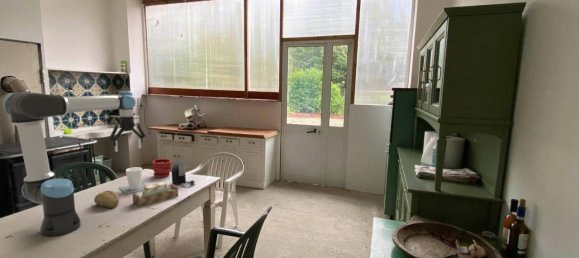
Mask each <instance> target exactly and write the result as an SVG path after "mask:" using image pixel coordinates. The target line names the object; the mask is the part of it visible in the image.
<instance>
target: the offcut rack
mask: <svg viewBox="0 0 579 258" xmlns="http://www.w3.org/2000/svg"><path fill="white" fill-rule="evenodd" d="M169 190H170V191H166V192H162V193H158V194H154V195H150V196H146V197H142V198H141V195H139V194H137V193H136V192H135V193H131V194H132V204H133V205H134V206H136V207H137V208H139V207H143V206H147V205H150V204H154V203H157V202H161V201H164V200H169V199H171V198H177V197H179V187H178V186H177V185H176V184H173V183H171V184H170V189H169Z"/></svg>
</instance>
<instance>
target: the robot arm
mask: <svg viewBox="0 0 579 258" xmlns="http://www.w3.org/2000/svg"><path fill="white" fill-rule="evenodd" d="M136 104H137V103H136V99H135V97H134V95H133V92H132V91H131V90H119V91H118V93H117V94H114V93H113V94H112V93H110V94H109V93H107V94H105V93H104V94H102V93H101V94H99V95H89V96H88V95H87V96H85V95H84V96H82V95H81V96H80V95H79V96H63V95H62V94H47V93H40V92H31V91H30V92H27V91H18V92H14V93H13V92H12V93H10V94H9V95H8V96H7V97H6V98H4V101H3V105H2V106H3V109H4V111H5V112H6V113H7V114H8V115H9V117H10V122H11V124H13V125H15V126H16V129H17V133H18V138H19V143H20V148H21V153H22V157H23V161H24V167H25V171H26V176H25V177H24V178H23V185H22V187H21V194H22V196H23V197H24V198H25V199H26V200H28V201H29V202H32V203H34V204H38V205H40V206H42V211H43V218H42V222H41V225H40V229H39V231H40V232H39V233H40V235H41V236H43V237H57V236H62V235H65V234H69V233H71V232H74V231H76V230H77V229H79V228H80V227H81V226H82V225H81V224H82V221H81V219H80V217H79V215H78V213H77V211H76V207H75V206H76V205H75V194H74V193H75V191H74V189H75V188H74V185H73V182H72V180H70V179H69V178H56V173H55V172H54V171H51V169H50V163H49V159H48V153H47V147H46V142H45V136H44V130H43V125H42V123H44V121H45V118H46V119H47V118H52V117H53V118H54V117H59V116H65V115H66V114H69V113H82V112H92V111H106V110H107V111H108V110H119V124H114V127H113V129H112V132H111V133H110V136H109V138H108V140H109V141H112V147H114V152H116V153H118V152H119V149H118V148H119V147H118V138H120V136H121V135H122V134H123V133H124V132H131V131H132V132H133V134H135V135H136V136H137V137H138V138H137V139H138V140H137V142H138V143H137V146H138V147H137V148H138V149H142V144H143V139H144V138H146V134H145V132H144V130H143V129H142V127H141V125H140V123H138V122H136V123H135V118H134V113H135V112H134V107H135V106H136ZM135 127H136V128H137V130H138V131H137V130H136V129H135ZM119 128H120V129H119ZM118 129H119V130H118ZM117 130H118V132H117Z"/></svg>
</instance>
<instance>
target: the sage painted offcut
mask: <svg viewBox="0 0 579 258" xmlns="http://www.w3.org/2000/svg"><path fill="white" fill-rule="evenodd" d="M169 190H170V188H169V186H167V188H164V189H160V190H156V191H152V192H148V193H147V192H145V191H141V192H142V194H141V195H143V196H145V197H146V196H150V195H154V194H158V193H162V192H166V191H169Z"/></svg>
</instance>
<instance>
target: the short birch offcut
mask: <svg viewBox="0 0 579 258" xmlns="http://www.w3.org/2000/svg"><path fill="white" fill-rule="evenodd" d="M167 187H168V184H167V183H166V182H164V181H162V182H159V183H158V182H157V183H154V184H149V185H147V186H145V187H144V191H145V192H147V193H148V192H152V191H156V190H160V189H164V188H167Z"/></svg>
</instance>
